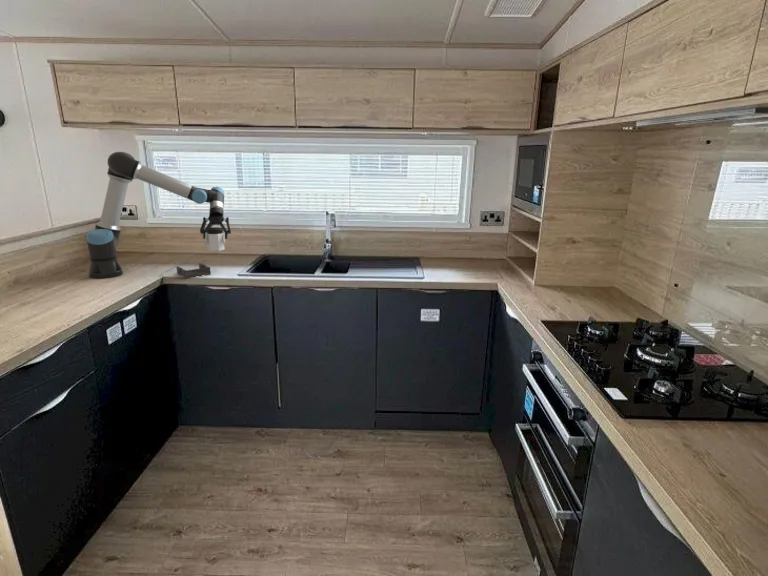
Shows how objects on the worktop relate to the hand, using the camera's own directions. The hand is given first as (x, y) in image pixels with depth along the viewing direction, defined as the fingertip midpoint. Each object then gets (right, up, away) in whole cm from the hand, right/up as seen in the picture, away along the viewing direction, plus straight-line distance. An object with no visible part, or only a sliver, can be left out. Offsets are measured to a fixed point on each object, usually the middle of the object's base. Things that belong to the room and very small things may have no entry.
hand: (215, 243), depth 236 cm
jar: (-1, -3, +4) cm, 6 cm away
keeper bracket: (-10, -17, -4) cm, 20 cm away
